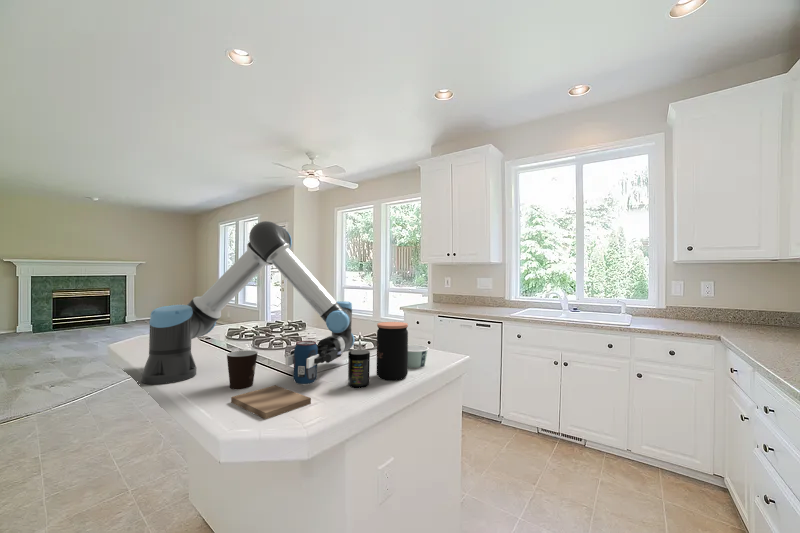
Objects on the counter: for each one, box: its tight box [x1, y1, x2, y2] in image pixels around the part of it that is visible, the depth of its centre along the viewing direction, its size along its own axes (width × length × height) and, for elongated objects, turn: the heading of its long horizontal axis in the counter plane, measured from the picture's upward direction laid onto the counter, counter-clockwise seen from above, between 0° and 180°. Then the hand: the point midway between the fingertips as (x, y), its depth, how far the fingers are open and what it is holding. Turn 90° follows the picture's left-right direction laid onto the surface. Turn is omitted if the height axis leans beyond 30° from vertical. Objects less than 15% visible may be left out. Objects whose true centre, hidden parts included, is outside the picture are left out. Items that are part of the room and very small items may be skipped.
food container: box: [408, 344, 430, 369], centre depth 133 cm, size 12×12×6 cm
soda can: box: [292, 340, 318, 386], centre depth 104 cm, size 7×7×12 cm
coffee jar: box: [376, 321, 409, 382], centre depth 116 cm, size 11×11×18 cm
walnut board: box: [230, 384, 312, 420], centre depth 91 cm, size 17×13×2 cm
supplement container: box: [347, 349, 371, 390], centre depth 106 cm, size 7×7×10 cm
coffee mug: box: [226, 349, 258, 390], centre depth 106 cm, size 12×9×10 cm
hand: (297, 362), depth 99 cm, fingers closed on soda can, 6 cm apart
